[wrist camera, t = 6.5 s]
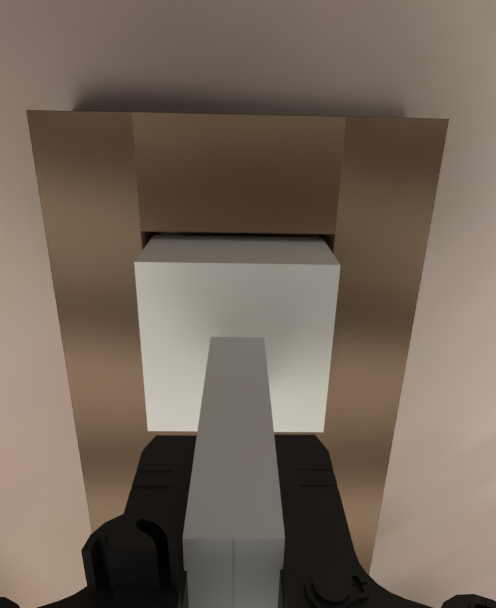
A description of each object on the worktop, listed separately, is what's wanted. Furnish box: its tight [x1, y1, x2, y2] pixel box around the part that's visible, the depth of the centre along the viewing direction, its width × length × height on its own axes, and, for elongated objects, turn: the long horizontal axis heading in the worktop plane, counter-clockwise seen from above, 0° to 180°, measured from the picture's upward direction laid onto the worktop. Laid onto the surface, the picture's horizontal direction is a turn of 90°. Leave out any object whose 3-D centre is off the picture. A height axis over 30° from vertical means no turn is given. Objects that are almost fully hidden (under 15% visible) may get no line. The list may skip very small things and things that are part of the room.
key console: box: [26, 110, 449, 575], centre depth 21 cm, size 26×13×4 cm, turn 179°
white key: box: [134, 235, 341, 432], centre depth 16 cm, size 6×6×3 cm
